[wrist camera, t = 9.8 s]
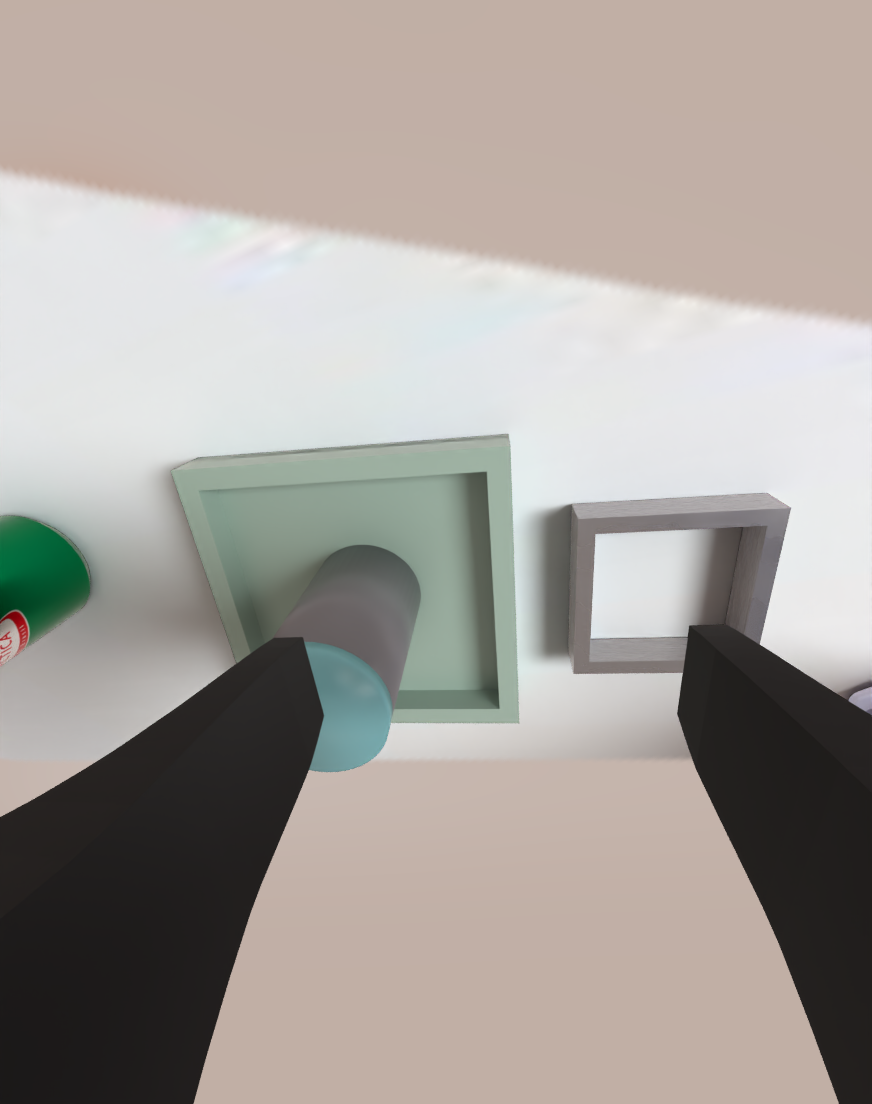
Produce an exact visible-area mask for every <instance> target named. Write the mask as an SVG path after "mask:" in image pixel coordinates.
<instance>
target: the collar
mask: <svg viewBox="0 0 872 1104" xmlns="http://www.w3.org/2000/svg"><path fill="white" fill-rule="evenodd" d="M790 510H791V508H790V507H789V506H787V505H786V504H784V503H782V502H781V501H779V500H778V499H776V498H774V497H773V496H771V495H770V494H768V493H760V494H742V495H725V496H707V497H689V498H671V499H653V500H636V501H618V502H600V503H582V504H572V511H571V553H570V595H569V637H568V653H569V657H570V661H571V665H572V670H573V674H601V673H683V668H684V661H685V654H686V647H687V639H688V637H682V638H631V639H590V635H591V614H592V593H593V572H594V551H595V534H604V533H624V532H645V531H666V530H687V529H708V528H729V527H743V530H742V536H741V541H740V546H739V551H738V557H737V562H736V567H735V573H734V578H733V583H732V588H731V594H730V599H729V604H728V610H727V615H726V620H725V625H728V626H730V627H732V628H734V629H735V630H737V631H739V632H740V633H742V634H744V635H745V636H747V637H749V638H750V639H752V640H753V641H755V642H756V643H758V644H760V640H761V636H762V631H763V627H764V623H765V618H766V614H767V610H768V605H769V601H770V597H771V592H772V588H773V584H774V579H775V575H776V571H777V566H778V562H779V558H780V553H781V549H782V545H783V540H784V536H785V532H786V527H787V523H788V519H789V514H790Z"/></svg>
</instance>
